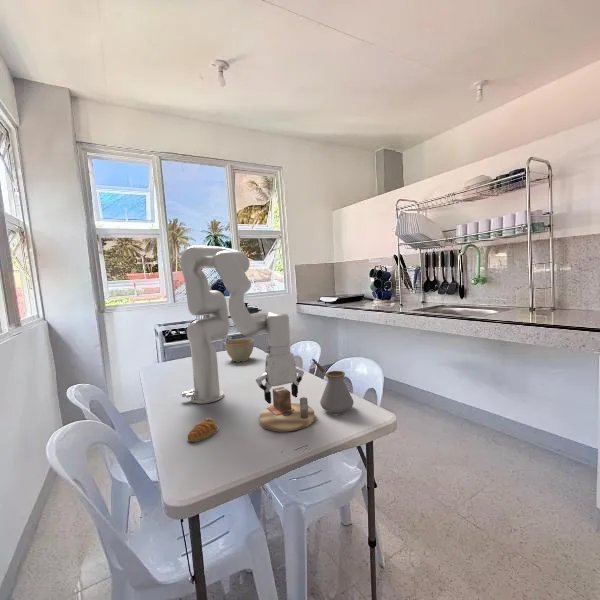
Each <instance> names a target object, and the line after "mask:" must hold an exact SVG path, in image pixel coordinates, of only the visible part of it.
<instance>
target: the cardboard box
mask: <svg viewBox="0 0 600 600" xmlns="http://www.w3.org/2000/svg"><path fill="white" fill-rule="evenodd" d="M291 396H292V395H291V391H290V390H289V389H287V388H286V387H284V386H281V387H275V388H272V399H273V401H272V402H273V404H272V405H273V406H274V407H275V408H276V409H278V410H279V411H280V412H282V411H286V410H290V409H291V403H292V401H291V399H292V398H291Z"/></svg>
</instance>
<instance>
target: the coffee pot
mask: <svg viewBox="0 0 600 600" xmlns="http://www.w3.org/2000/svg"><path fill="white" fill-rule="evenodd" d="M311 361H312V362H311ZM309 363H310V364H313V365H315V366H316V367H317V369H318V370H320V372H321V373H323V375H324V376H325V377H326V378H327V382H326V385H325V388H324V390H323V393H322V396H321V398H320V400H319V403H320V406H321V408H322V409H323V410H324V411H326V413H328V414H329V415H335V416H336V415H337V416H338V415H339V416H340V415H344V414H347V413H348V412H349V411H350V410H351V409H353V408H352V407H353V406H354V398H353V397H352V395H351V393H350V391H349V388H348V385H346V381H345V380H344V377H345V376H346V373H345V372H344V371H343V370H342V371H341V370H331V371H328V372H326V371H325V369H324V368H323V367H322V366H321V364H319V363H318V361H317V360H316V359H314V358H312V359H311V360H310V361H309Z"/></svg>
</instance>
